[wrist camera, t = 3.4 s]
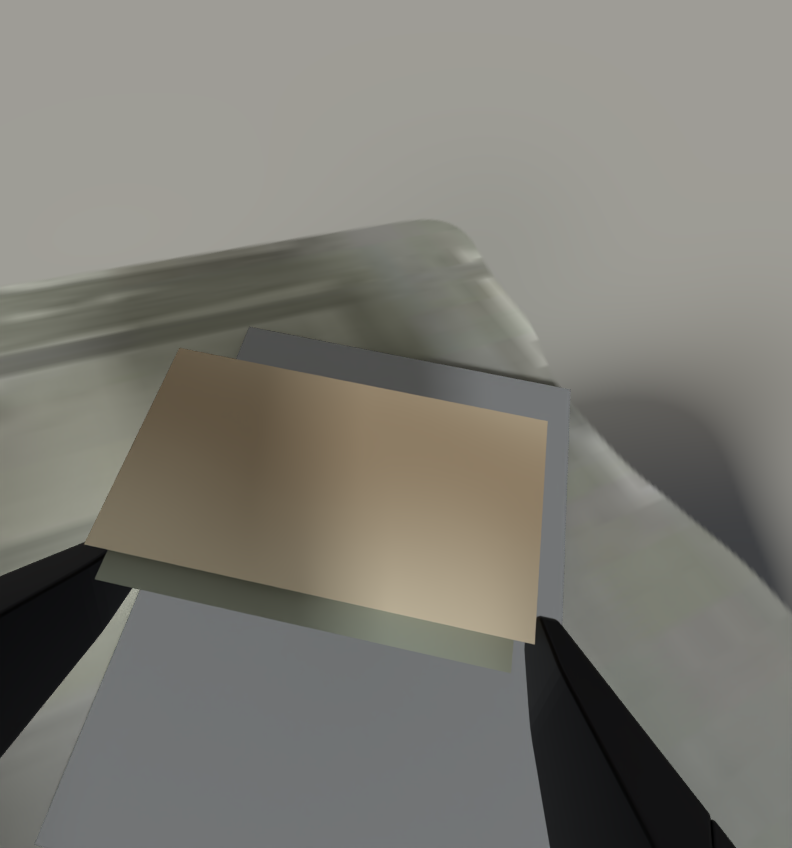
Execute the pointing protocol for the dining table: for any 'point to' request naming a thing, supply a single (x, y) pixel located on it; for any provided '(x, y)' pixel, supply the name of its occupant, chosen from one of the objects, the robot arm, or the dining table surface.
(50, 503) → the dining table surface
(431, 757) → the rubber mat
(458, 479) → the brown rectangular block
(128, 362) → the dining table surface
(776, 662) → the dining table surface
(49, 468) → the dining table surface
